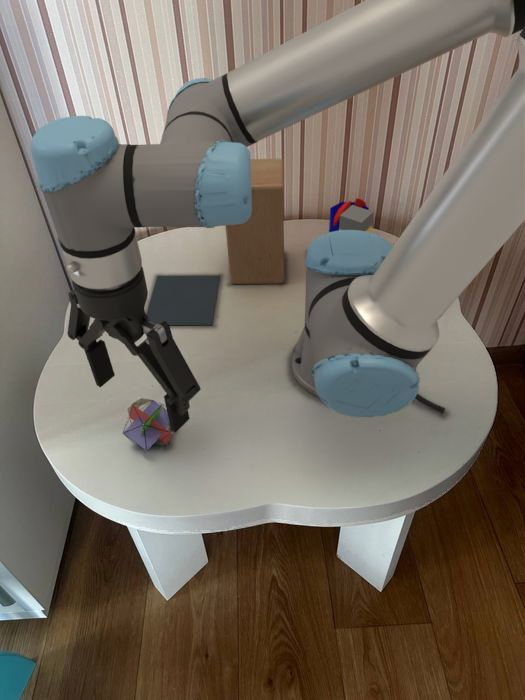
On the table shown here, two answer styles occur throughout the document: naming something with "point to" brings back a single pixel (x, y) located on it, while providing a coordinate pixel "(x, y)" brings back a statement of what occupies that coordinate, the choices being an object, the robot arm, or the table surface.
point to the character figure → (356, 219)
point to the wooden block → (260, 229)
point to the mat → (184, 300)
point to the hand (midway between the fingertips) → (141, 401)
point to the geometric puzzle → (148, 424)
